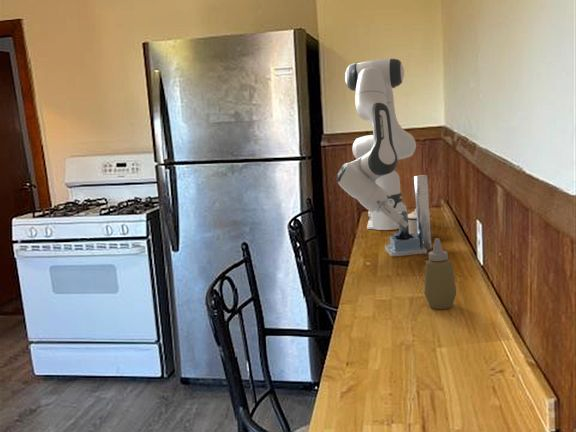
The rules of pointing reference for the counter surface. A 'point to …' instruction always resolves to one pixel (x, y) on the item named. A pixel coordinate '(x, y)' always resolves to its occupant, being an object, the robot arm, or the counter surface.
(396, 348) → the counter surface
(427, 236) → the box with upright lever
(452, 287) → the squeeze bottle
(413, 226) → the teacup with lid
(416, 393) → the counter surface
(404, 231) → the dark grey rounded rod
